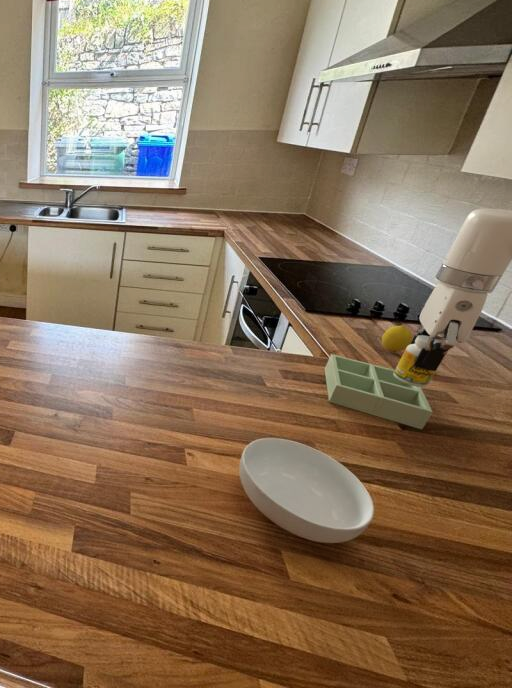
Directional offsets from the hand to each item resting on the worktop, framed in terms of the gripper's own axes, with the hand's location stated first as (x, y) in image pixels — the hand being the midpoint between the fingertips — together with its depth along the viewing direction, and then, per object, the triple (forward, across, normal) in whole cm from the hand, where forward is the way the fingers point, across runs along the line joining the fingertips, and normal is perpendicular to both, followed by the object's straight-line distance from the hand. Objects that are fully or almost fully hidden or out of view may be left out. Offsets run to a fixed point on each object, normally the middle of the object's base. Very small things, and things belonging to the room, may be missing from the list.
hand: (420, 360), depth 81 cm
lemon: (+13, +33, -4) cm, 36 cm away
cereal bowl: (+13, -41, +19) cm, 47 cm away
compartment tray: (+13, +4, +4) cm, 14 cm away
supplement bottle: (+5, 0, 0) cm, 5 cm away
